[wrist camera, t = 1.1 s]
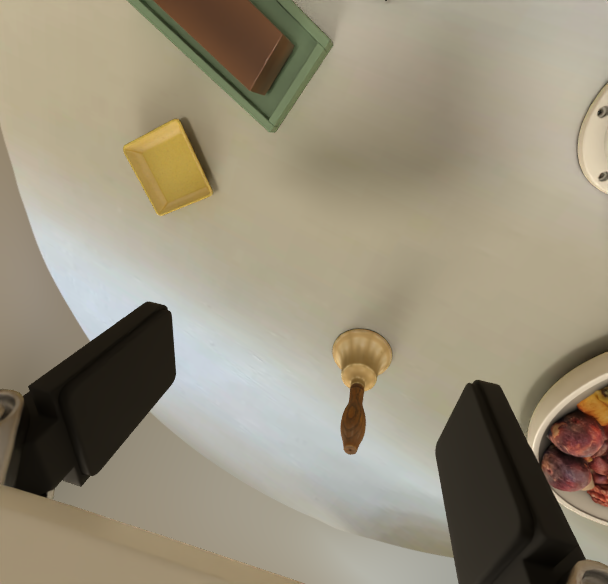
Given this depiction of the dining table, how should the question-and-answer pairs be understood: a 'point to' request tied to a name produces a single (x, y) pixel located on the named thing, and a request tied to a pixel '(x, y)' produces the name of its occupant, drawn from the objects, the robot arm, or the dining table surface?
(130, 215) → the dining table surface
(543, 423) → the bowl
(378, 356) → the hand bell
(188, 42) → the tray
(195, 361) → the dining table surface
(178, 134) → the yellow flat tray
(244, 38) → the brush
